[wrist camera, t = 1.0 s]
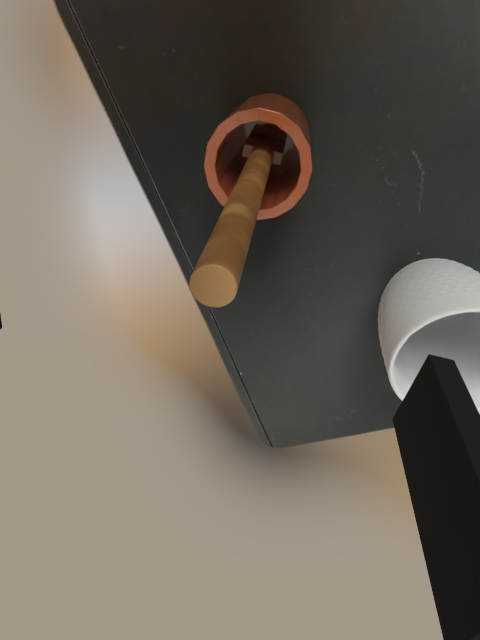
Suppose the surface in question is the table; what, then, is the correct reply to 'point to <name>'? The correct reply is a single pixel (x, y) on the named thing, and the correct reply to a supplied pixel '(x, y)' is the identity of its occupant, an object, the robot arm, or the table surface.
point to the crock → (284, 180)
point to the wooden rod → (235, 225)
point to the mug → (431, 322)
